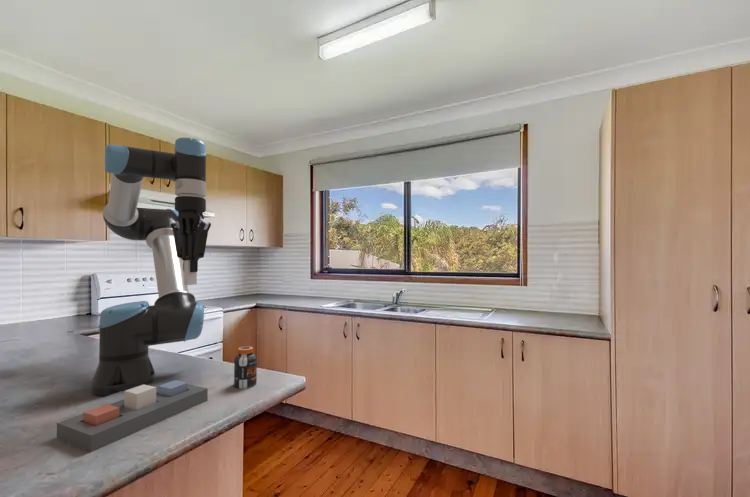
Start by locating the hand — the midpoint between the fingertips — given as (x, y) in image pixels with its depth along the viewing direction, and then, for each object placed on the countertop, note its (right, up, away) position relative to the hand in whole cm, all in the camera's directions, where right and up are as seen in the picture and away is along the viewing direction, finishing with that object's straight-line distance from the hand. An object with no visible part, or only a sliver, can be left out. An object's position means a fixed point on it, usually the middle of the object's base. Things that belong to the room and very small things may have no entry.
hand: (190, 284), depth 100 cm
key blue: (0, -28, -9) cm, 29 cm away
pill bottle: (+13, -30, +4) cm, 33 cm away
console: (-3, -29, -16) cm, 34 cm away
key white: (-3, -26, -16) cm, 31 cm away
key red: (-7, -28, -24) cm, 37 cm away
